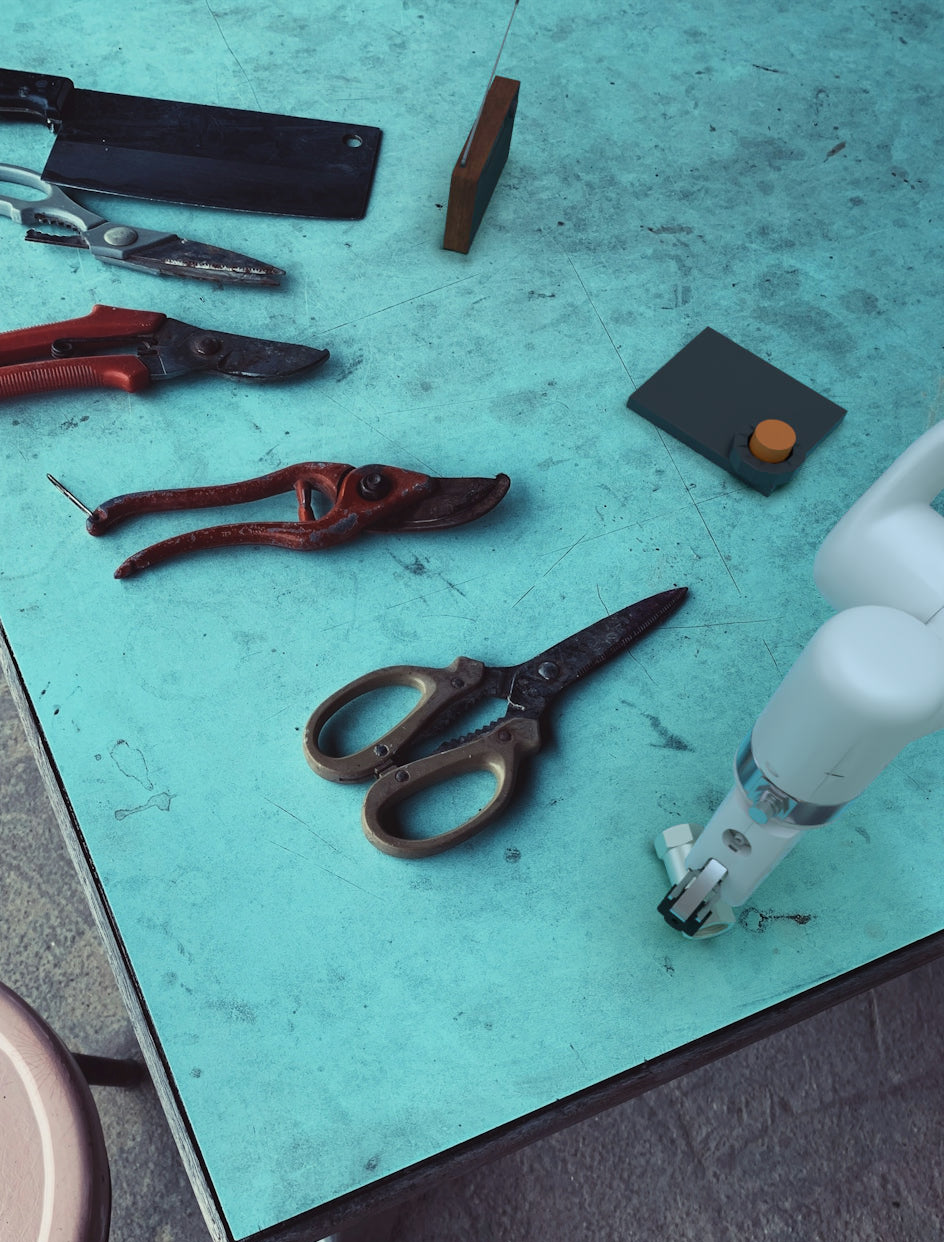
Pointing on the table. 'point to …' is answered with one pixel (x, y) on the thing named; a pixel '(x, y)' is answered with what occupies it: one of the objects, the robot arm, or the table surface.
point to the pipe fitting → (674, 852)
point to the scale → (734, 408)
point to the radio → (481, 160)
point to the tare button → (772, 441)
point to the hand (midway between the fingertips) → (712, 877)
